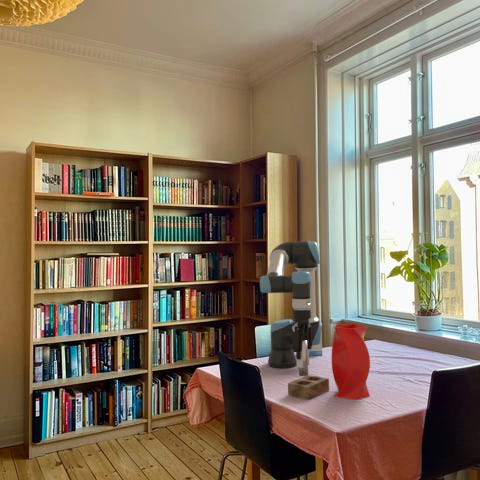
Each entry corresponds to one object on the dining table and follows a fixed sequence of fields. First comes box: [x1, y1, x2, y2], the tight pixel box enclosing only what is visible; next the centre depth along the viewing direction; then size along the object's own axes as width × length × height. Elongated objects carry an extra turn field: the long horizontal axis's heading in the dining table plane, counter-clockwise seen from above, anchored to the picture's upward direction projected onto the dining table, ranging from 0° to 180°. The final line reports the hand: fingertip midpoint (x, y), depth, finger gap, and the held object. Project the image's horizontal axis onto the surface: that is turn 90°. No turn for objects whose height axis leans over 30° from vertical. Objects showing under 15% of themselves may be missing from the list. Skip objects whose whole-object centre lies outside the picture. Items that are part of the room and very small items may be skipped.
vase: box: [331, 323, 371, 401], centre depth 190 cm, size 15×14×28 cm
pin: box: [297, 340, 309, 377], centre depth 190 cm, size 4×4×14 cm
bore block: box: [287, 374, 330, 401], centre depth 193 cm, size 10×16×5 cm, turn 140°
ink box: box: [309, 334, 323, 356], centre depth 267 cm, size 9×8×13 cm
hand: (303, 365), depth 190 cm, fingers closed on pin, 4 cm apart
